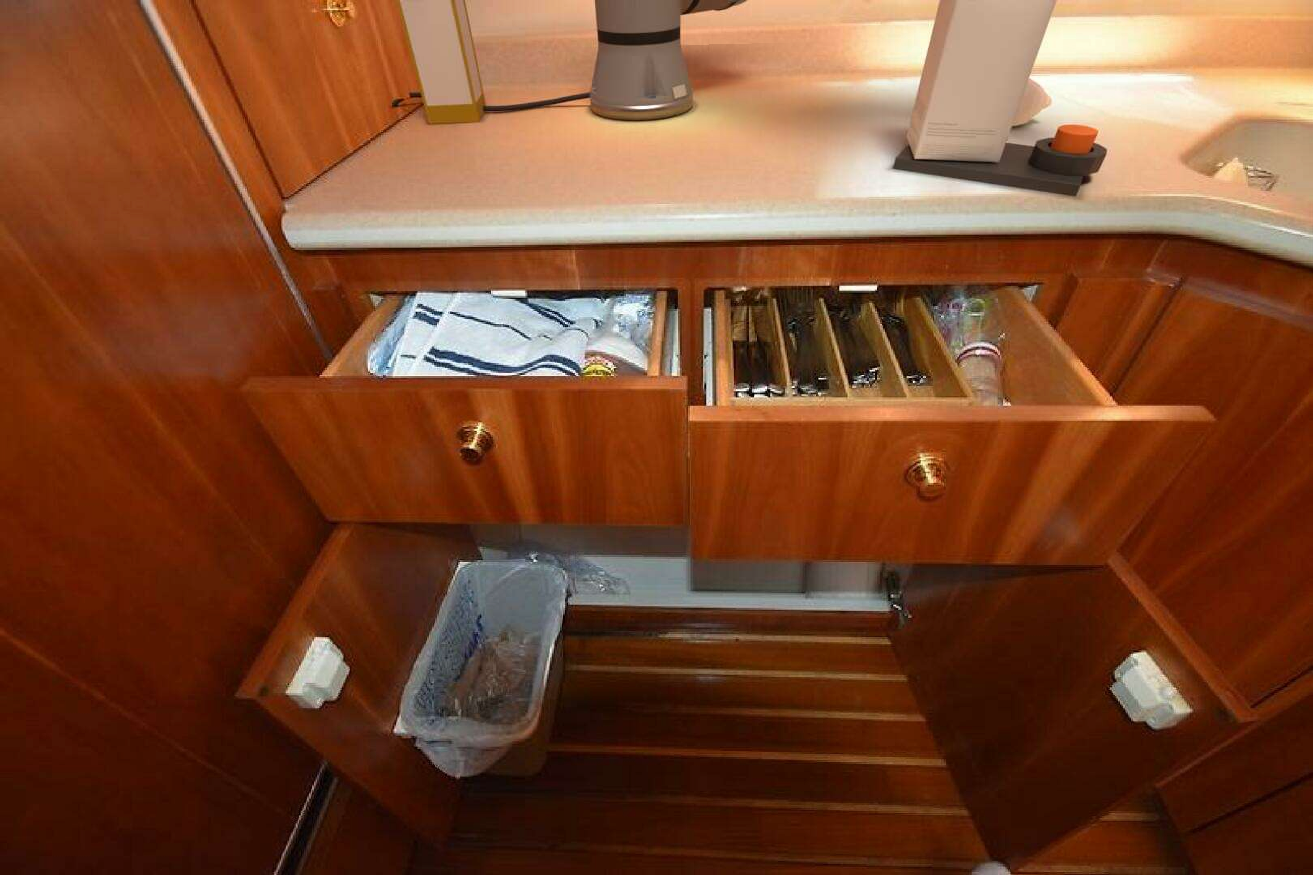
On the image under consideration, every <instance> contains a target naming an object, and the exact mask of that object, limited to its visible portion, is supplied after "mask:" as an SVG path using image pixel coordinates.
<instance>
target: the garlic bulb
mask: <svg viewBox="0 0 1313 875" xmlns="http://www.w3.org/2000/svg"><path fill="white" fill-rule="evenodd" d="M1052 103H1053V100H1052V98H1051V96H1050V95H1049V94H1048V93H1047V91H1045V89H1044V87H1042V86H1041V84H1040V83H1038V82H1037V81H1035V80H1033V79H1032V78H1030V77H1029V79H1028V82H1027V85H1026V88H1025V91H1024V93H1023V96H1022V99H1021V102H1020V105H1019V107H1018V110H1017V113H1016V116H1015V119H1014V122H1013V124H1012V127H1017V126H1021V125H1024V124H1026V123H1027V122H1029V121H1030V120H1031V119H1032V118H1034V117H1035V116H1037V115H1038V114H1040V112H1041V111H1042V110H1045V109H1047V108H1048V107H1051V105H1052Z"/></svg>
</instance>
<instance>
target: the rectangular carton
mask: <svg viewBox="0 0 1313 875" xmlns="http://www.w3.org/2000/svg"><path fill="white" fill-rule="evenodd" d="M1057 1H1058V0H939V2H938V6H937V10H936V14H935V17H934V21H933V22H934V23H933V26H932V30H931V36H930V38H929V43H928V47H927V50H926V56H925V59H924V64H923V67H922V71H921V75H920V76H921V77H920V80H919V83H918V84H919V85H918V88H917V93H916V97H915V99H914V100H915V101H914V104H913V109H912V113H911V117H910V121H909V125H908V129H907V132H906V138H907V142H908V144H909V145H910V147H911V150H912V153H913V156H914V158H915V159H931V160H954V161H977V162H994V163H998V162H999V161H1000V159H1001V156H1002V153H1003V150H1004V147H1005V144H1006V143H1007V142H1008V139H1009V136H1010V133H1011V130H1012V128H1013V126H1012V124H1013V122H1014V119H1015V116H1016V113H1017V110H1018V107H1019V105H1020V102H1021V99H1022V96H1023V93H1024V91H1025V88H1026V85H1027V82H1028V79H1029V78H1030V76H1031V73H1032V71H1033V68H1034V65H1035V62H1036V59H1037V57H1038V54H1039V51H1040V49H1041V46H1042V43H1043V40H1044V38H1045V34H1046V32H1047V28H1048V26H1049V23H1050V20H1051V17H1052V14H1053V12H1054V10H1055V6H1056V4H1057Z"/></svg>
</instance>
